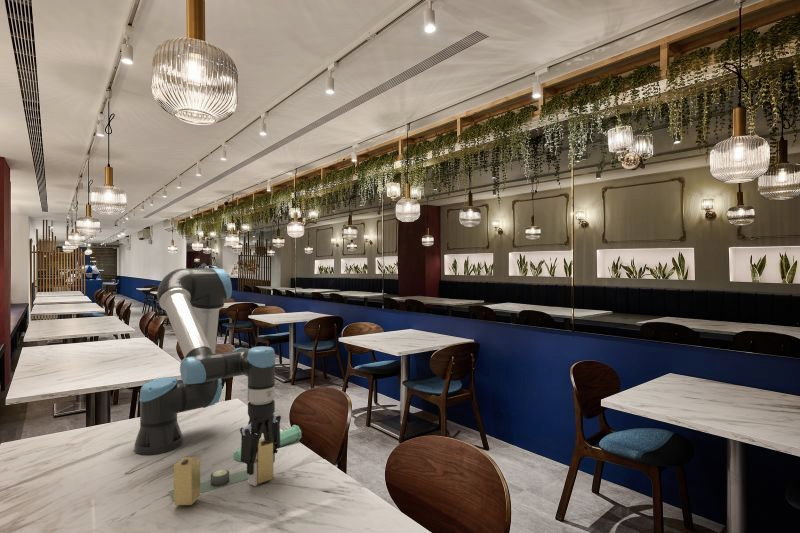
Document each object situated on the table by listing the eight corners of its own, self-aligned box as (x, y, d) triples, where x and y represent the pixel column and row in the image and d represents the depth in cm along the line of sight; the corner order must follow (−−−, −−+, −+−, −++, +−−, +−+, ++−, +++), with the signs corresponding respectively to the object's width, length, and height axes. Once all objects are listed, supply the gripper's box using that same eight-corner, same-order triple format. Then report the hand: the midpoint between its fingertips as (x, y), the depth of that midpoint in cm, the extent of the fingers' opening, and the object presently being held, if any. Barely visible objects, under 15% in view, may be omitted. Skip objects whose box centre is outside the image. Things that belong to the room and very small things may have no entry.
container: (238, 447, 142) (299, 423, 162) (228, 450, 145) (289, 426, 165) (242, 466, 140) (303, 439, 160) (233, 468, 144) (293, 442, 164)
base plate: (168, 495, 123) (168, 480, 123) (260, 469, 139) (260, 455, 138) (175, 514, 114) (175, 497, 114) (274, 484, 129) (273, 469, 129)
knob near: (183, 499, 119) (183, 455, 119) (200, 499, 119) (199, 455, 119) (174, 508, 115) (173, 463, 115) (191, 508, 114) (191, 463, 114)
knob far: (251, 481, 129) (250, 441, 129) (265, 476, 132) (265, 436, 132) (258, 487, 125) (258, 445, 125) (273, 481, 129) (272, 441, 129)
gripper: (244, 412, 119) (244, 497, 119) (293, 394, 135) (293, 469, 135) (226, 407, 122) (225, 490, 123) (275, 390, 139) (275, 463, 139)
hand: (261, 479), depth 129 cm, fingers closed on knob far, 6 cm apart
